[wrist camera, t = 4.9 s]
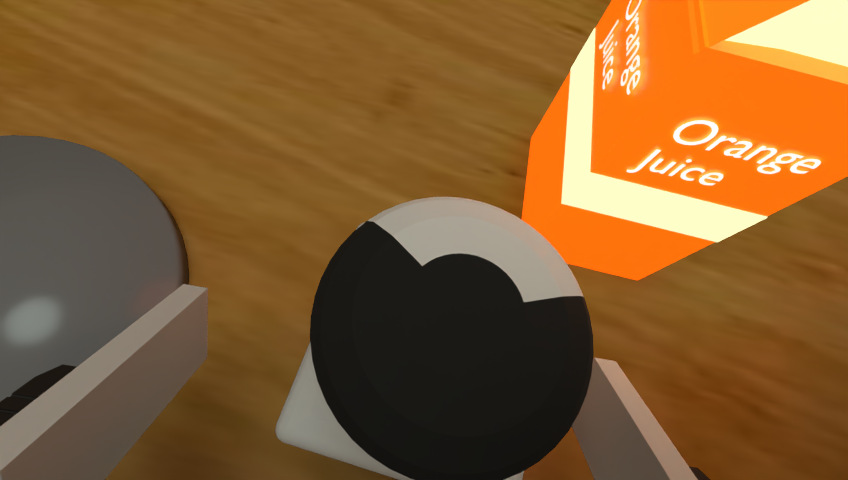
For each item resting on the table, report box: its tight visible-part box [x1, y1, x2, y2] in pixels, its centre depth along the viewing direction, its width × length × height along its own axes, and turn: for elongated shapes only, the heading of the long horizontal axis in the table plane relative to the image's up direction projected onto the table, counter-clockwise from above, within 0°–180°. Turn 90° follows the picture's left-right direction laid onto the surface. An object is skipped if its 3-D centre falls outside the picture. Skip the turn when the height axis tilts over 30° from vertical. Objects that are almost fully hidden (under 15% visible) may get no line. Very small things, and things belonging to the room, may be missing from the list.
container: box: [275, 197, 593, 480], centre depth 14 cm, size 8×8×13 cm
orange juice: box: [522, 0, 848, 281], centre depth 16 cm, size 8×9×20 cm
